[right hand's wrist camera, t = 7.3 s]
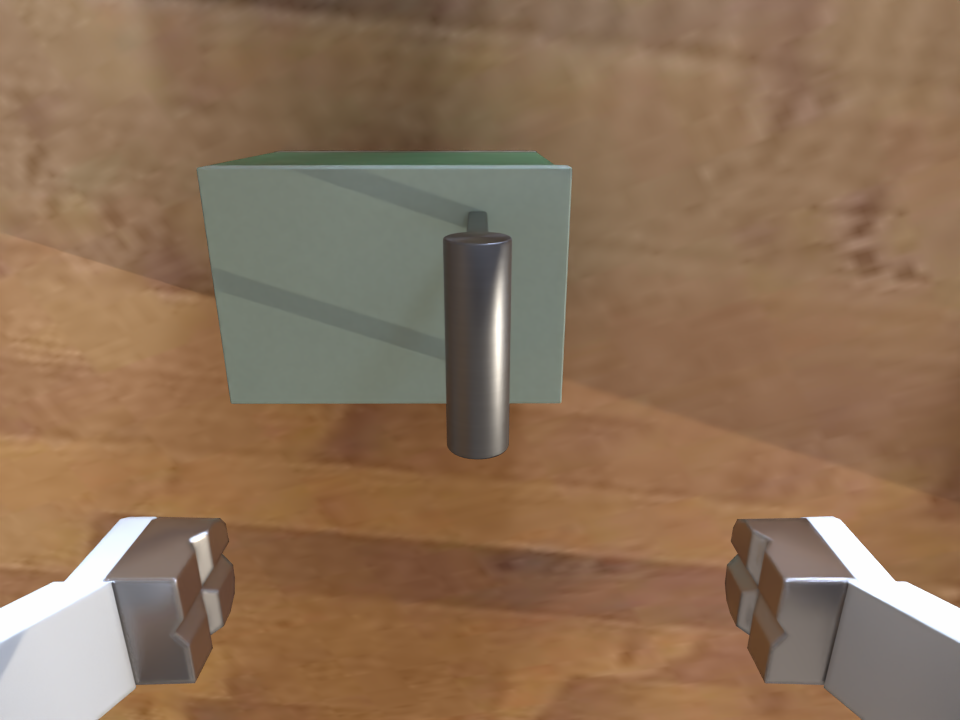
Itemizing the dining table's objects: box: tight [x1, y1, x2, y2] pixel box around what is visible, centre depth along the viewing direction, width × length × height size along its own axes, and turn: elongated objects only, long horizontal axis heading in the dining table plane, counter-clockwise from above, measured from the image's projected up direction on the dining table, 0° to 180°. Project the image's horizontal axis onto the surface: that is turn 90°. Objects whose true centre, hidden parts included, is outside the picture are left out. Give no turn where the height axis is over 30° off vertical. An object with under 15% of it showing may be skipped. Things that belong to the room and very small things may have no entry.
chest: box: [213, 151, 554, 165], centre depth 31 cm, size 13×10×10 cm
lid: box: [197, 165, 572, 459], centre depth 23 cm, size 14×9×8 cm
